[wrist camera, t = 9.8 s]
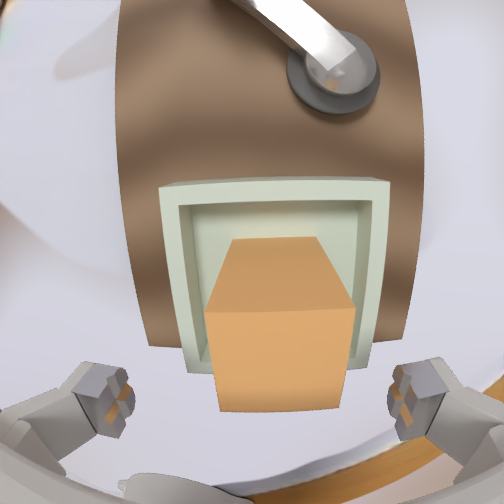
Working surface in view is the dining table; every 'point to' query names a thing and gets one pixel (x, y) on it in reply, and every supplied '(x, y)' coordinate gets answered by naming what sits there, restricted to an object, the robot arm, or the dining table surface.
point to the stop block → (279, 327)
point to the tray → (271, 226)
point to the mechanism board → (260, 127)
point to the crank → (317, 45)
